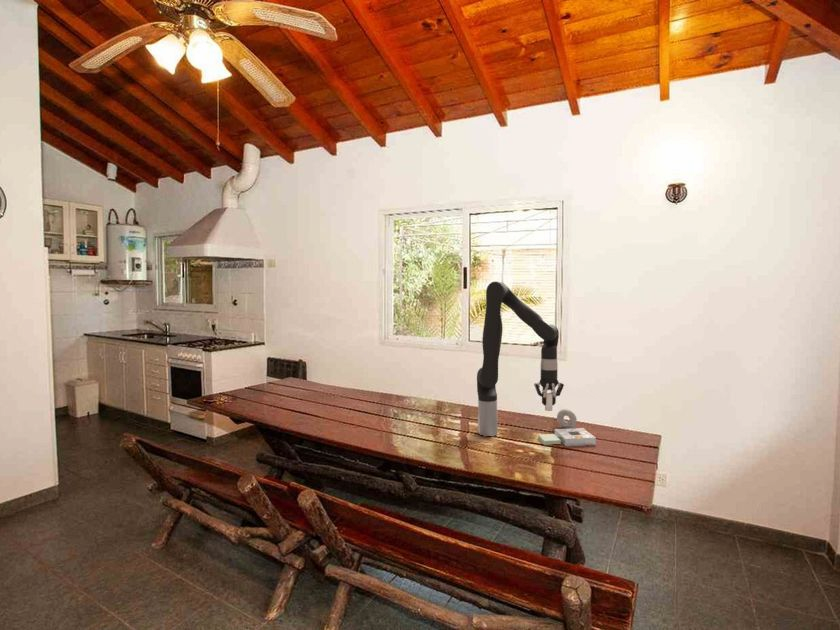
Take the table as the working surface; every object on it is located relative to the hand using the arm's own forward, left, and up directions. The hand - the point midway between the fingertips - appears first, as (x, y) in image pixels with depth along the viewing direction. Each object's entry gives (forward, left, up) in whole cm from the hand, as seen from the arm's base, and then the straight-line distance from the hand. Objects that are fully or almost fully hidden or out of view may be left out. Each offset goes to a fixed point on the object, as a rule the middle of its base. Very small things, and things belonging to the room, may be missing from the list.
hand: (548, 404), depth 210 cm
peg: (0, 0, -2) cm, 2 cm away
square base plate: (0, 0, -17) cm, 17 cm away
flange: (+12, 0, -17) cm, 21 cm away
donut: (+15, +18, -18) cm, 30 cm away
